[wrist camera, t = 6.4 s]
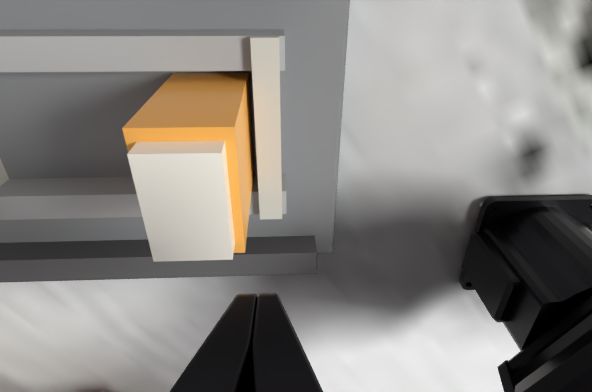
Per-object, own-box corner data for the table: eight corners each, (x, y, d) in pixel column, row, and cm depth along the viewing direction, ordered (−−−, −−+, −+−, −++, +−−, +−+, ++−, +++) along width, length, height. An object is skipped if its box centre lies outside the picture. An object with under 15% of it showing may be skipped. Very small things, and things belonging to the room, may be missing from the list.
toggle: (248, 72, 15) (231, 138, 10) (254, 169, 18) (243, 268, 12) (173, 72, 15) (111, 140, 10) (188, 170, 18) (146, 271, 12)
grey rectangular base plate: (327, -96, 13) (332, -102, 12) (313, 256, 21) (316, 273, 20) (-202, -103, 12) (-254, -109, 11) (-6, 264, 20) (-24, 282, 19)
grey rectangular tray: (350, -85, 14) (368, -96, 11) (329, 239, 22) (337, 278, 19) (-192, -91, 13) (-313, -104, 11) (-13, 247, 21) (-56, 289, 18)
